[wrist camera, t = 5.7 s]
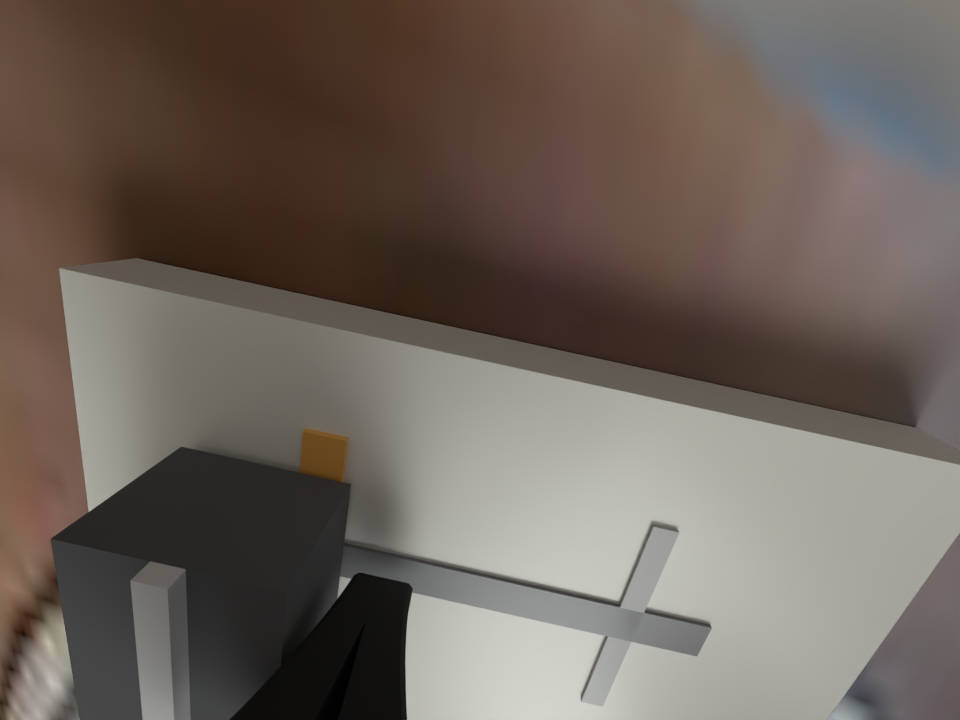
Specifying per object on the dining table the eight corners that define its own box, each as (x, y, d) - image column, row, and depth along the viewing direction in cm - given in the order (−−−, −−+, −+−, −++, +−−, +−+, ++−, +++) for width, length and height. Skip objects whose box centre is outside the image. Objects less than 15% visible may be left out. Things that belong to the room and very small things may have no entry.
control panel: (917, 428, 11) (1009, 478, 9) (730, 736, 15) (764, 819, 13) (136, 258, 11) (51, 268, 9) (158, 606, 15) (102, 668, 13)
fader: (350, 484, 10) (273, 612, 7) (332, 639, 12) (262, 800, 9) (181, 446, 10) (24, 556, 7) (186, 606, 12) (63, 755, 9)
